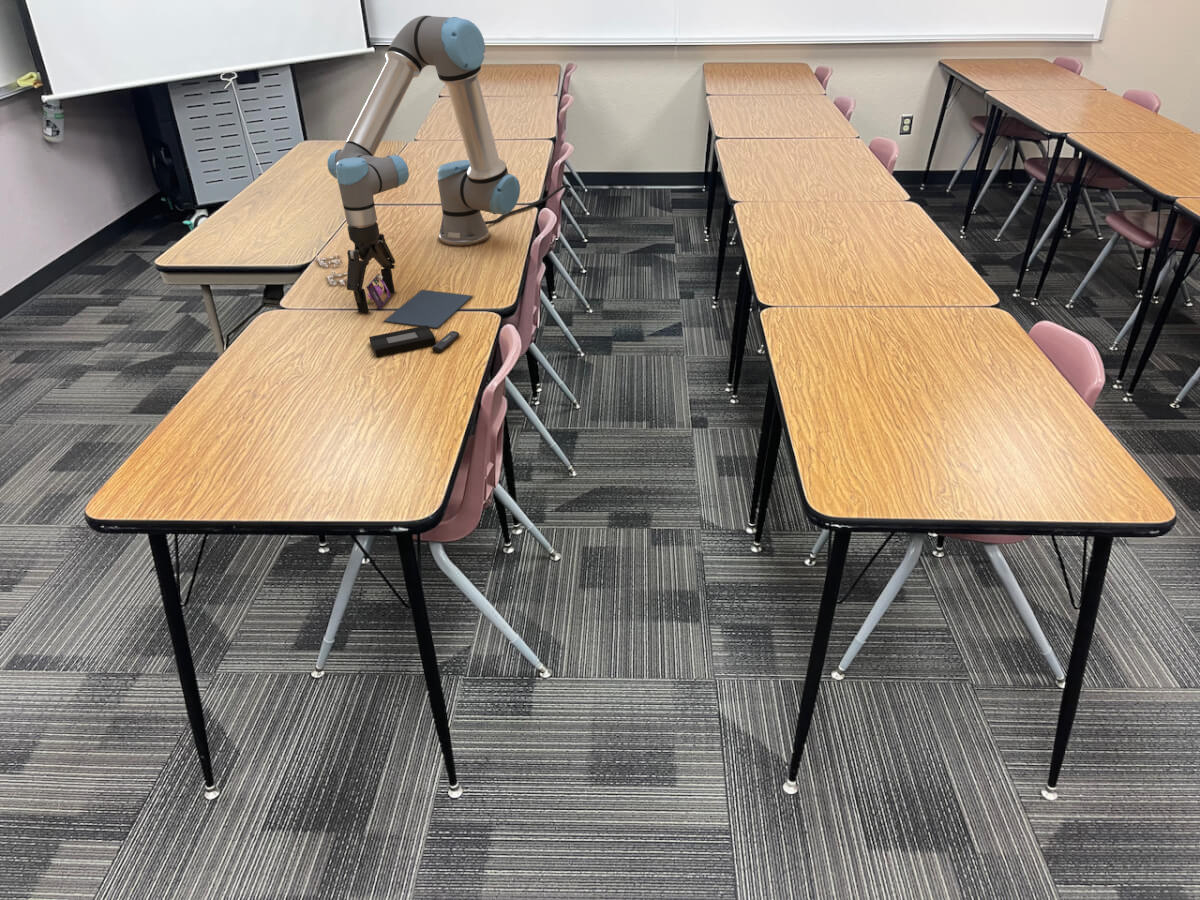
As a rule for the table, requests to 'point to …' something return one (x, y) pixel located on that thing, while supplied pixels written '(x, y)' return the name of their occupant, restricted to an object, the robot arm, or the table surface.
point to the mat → (428, 309)
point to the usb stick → (445, 341)
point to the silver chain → (332, 271)
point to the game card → (377, 291)
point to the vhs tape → (402, 340)
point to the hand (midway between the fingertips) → (377, 302)
